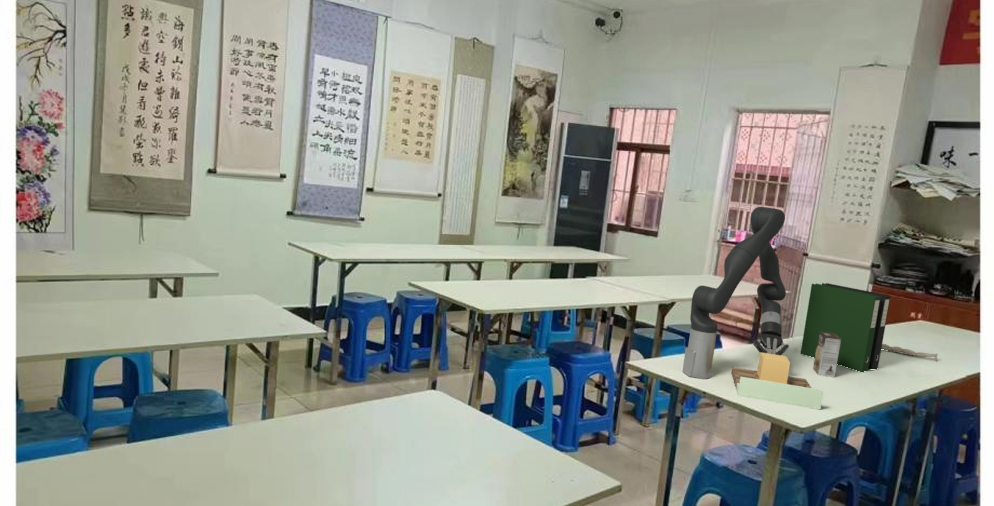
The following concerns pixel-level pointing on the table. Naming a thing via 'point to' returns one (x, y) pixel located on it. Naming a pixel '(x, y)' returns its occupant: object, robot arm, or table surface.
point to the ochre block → (773, 368)
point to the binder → (847, 323)
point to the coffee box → (827, 354)
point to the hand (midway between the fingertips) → (770, 364)
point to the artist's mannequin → (908, 351)
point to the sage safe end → (779, 392)
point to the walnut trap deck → (753, 374)
